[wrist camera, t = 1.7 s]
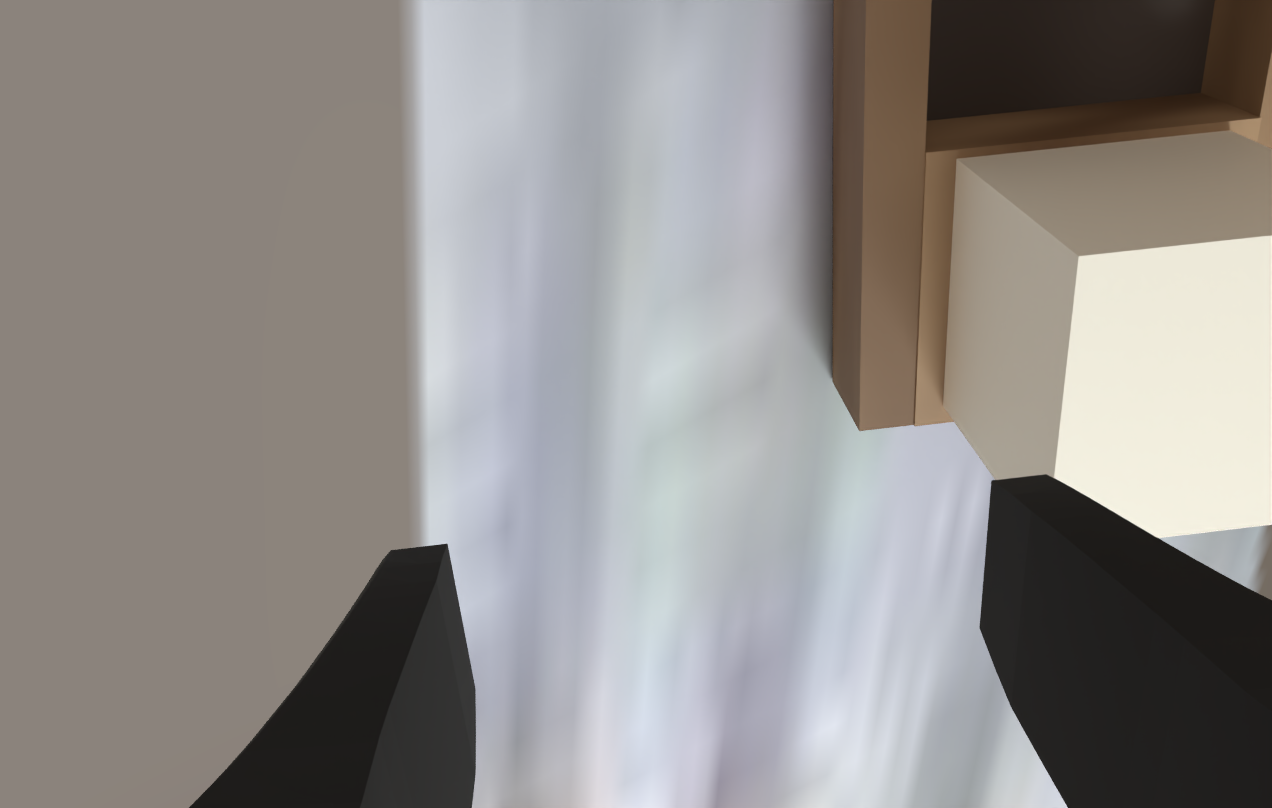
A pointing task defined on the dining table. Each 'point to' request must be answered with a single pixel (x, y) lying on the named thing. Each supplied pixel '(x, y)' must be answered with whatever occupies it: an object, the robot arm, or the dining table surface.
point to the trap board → (995, 143)
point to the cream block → (1120, 325)
